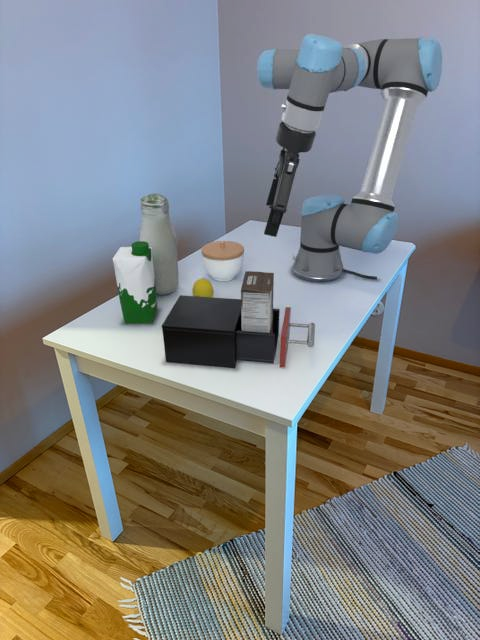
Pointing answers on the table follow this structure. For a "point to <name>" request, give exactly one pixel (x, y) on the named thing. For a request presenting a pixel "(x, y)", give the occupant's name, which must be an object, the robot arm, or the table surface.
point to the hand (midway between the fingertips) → (270, 219)
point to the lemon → (203, 288)
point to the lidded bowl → (222, 259)
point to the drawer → (269, 340)
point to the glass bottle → (160, 241)
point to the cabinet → (202, 331)
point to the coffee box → (257, 302)
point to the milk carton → (136, 282)
